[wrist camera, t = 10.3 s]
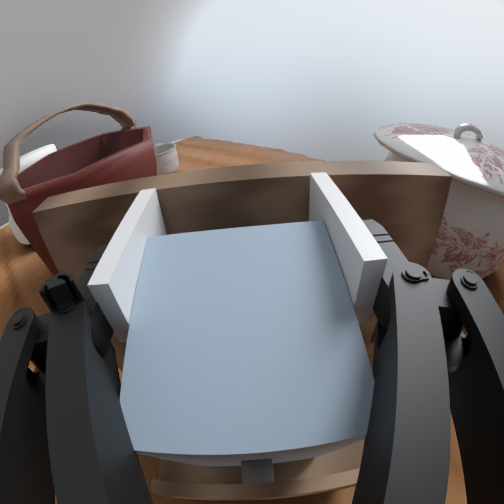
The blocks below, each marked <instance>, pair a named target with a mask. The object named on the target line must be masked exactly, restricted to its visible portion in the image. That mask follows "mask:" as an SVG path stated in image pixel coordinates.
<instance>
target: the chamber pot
mask: <svg viewBox="0 0 504 504" xmlns="http://www.w3.org/2000/svg"><path fill="white" fill-rule="evenodd" d="M465 131H470V132H473V133H474V134H475V135H476V137H474V136H471V135H469V134H466V133H463V132H465ZM374 136H375V138H376V139H377V141H378V142H379V143H380V145H382V146H383V147H385V148H386V149H388V150H390V154H389V155H388V156H387V158H386V159H385V160H384V161H397V162H419V163H434V164H436V165H437V166H438V167H440V168H441V169H443V170H444V171H445V172H447V173H448V174H450V175H451V176H452V180H451V185H450V189H449V193H448V198H447V202H446V206H445V210H444V214H443V217H442V221H441V225H440V228H439V232H438V235H437V238H436V242H435V245H434V248H433V251H432V254H431V257H430V260H429V263H428V266H427V269H426V270H427V271H428V272H429V273H430V275H432V276H434V277H437V278H440V279H446V280H450V279H451V277H452V274H453V272H454V271H455V270H457V269H461V268H462V269H468V270H471V271H473V272H475V273H476V274H477V275H479V276H480V277H481V279H483V278H485V277H486V276H488V275H490V274H492V273H493V272H495V271H497V270H498V269H500V268H502V267H503V266H504V150H503V149H501V148H499V147H497V146H495V145H493V144H491V143H489V142H487V141H484V140H482V138H483V136H482V134H481V131H480V130H479V129H478V128H477V127H476V126H474V125H472V124H467V123H466V124H461V125H460V126H458V127H457V128H456V129H455V130H452V129H447V128H442V127H438V126H431V125H424V124H395V125H387V126H382V127H379V128H378V129H377V130H376V131H375V133H374Z"/></svg>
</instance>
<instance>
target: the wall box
mask: <svg viewBox="0 0 504 504" xmlns="http://www.w3.org/2000/svg"><path fill="white" fill-rule="evenodd" d="M374 383H375V380H374V377H373V373H372V369H371V365H370V361H369V358H368V354H367V351H366V347H365V344H364V340H363V337H362V333H361V330H360V327H359V323H358V320H357V317H356V313H355V310H354V307H353V304H352V301H351V298H350V295H349V292H348V289H347V286H346V283H345V280H344V277H343V274H342V271H341V268H340V265H339V262H338V259H337V257H336V254H335V251H334V248H333V246H332V243H331V240H330V237H329V235H328V232H327V229H326V227H325V224H324V222H323V220H321V221H308V222H295V223H283V224H271V225H260V226H249V227H238V228H228V229H218V230H208V231H198V232H188V233H179V234H170V235H161V236H152V237H148V239H147V243H146V247H145V251H144V255H143V260H142V264H141V268H140V273H139V278H138V282H137V287H136V292H135V297H134V302H133V308H132V313H131V319H130V325H129V331H128V337H127V343H126V350H125V357H124V365H123V373H122V382H121V391H120V404H121V408H122V412H123V415H124V419H125V422H126V426H127V429H128V432H129V436H130V439H131V442H132V445H133V448H134V450H135V451H136V453H138V454H142V455H146V456H150V457H155V458H159V459H164V460H169V461H175V462H180V463H186V464H193V465H200V466H207V467H227V466H241V471H242V483H243V484H257V483H268V482H274V472H273V464H274V463H283V462H291V461H298V460H304V459H311V458H316V457H319V456H322V455H325V454H327V453H330V452H333V451H336V450H338V449H341V448H343V447H346V446H349V445H351V444H353V443H356V442H358V441H361V440H363V439H365V435H366V434H367V429H368V424H369V418H370V411H371V405H372V398H373V391H374Z"/></svg>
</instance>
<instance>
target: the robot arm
mask: <svg viewBox="0 0 504 504" xmlns="http://www.w3.org/2000/svg"><path fill="white" fill-rule="evenodd" d="M321 220H323V222H324V224H325V227H326V229H327V232H328V235H329V237H330V240H331V243H332V246H333V248H334V251H335V254H336V257H337V259H338V262H339V265H340V268H341V271H342V274H343V277H344V280H345V283H346V286H347V289H348V292H349V295H350V298H351V301H352V304H353V307H354V310H355V313H356V317H357V320H358V323H365V322H369V321H370V318H371V315H372V312H373V311H374V313H375V315H376V317H377V323H376V326H375V329H374V331H373V334H372V337H371V340H370V343H373V341H374V358H373V377H374V380H375V383H374V391H373V398H372V405H371V411H370V418H369V424H368V429H367V434H366V435H365V442H364V448H363V454H362V459H361V465H360V470H359V475H358V480H357V484H356V489H355V493H354V497H353V501H352V504H445V500H446V492H447V484H448V473H449V459H450V410H451V414H452V418H453V422H454V426H455V430H456V435H457V439H458V444H459V449H460V455H461V460H462V466H463V472H464V479H465V487H466V495H467V504H504V315H503V313H502V311H501V309H500V308H499V306H498V304H497V302H496V301H495V299H494V297H493V296H492V294H491V292H490V291H489V289H488V287H487V286H486V284H485V283H484V281H483V280H482V279H481V277H480V276H479V275H477V274H476V273H475V272H473V271H471V270H468V269H462V268H461V269H457V270H455V271H454V272H453V274H452V277H451V279H450V280H446V279H437V278H432V277H431V275H430V273H429V272H428V271H427V270H426V269H425V268H424V267H422V266H421V265H419V264H416V263H412V262H408V260H407V259H406V257H405V256H404V254H403V253H402V252H401V250H400V249H399V248H398V246H397V245H396V243H395V242H393V239H392V238H391V237H390V235H388V233H387V231H386V230H385V229H384V227H383V226H382V225H380V224H379V223H377V222H376V221H374V220H373V219H370V220H361V218H360V217H359V216H358V214H357V213H356V211H355V210H354V209H353V207H352V206H351V205H350V203H349V202H348V200H347V199H346V198H345V196H344V195H343V194H342V192H341V191H340V190H339V189H338V187H337V186H336V185H335V183H334V182H333V181H332V179H331V178H330V177H329V176H328V174H327V173H326V172H320V173H310V200H309V221H321ZM161 235H167V233H166V229H165V225H164V221H163V217H162V213H161V209H160V205H159V201H158V196H157V192H156V188H152V189H146V190H141V191H140V192H139V194H138V195H137V197H136V198H135V200H134V202H133V203H132V205H131V207H130V208H129V210H128V211H127V213H126V215H125V216H124V218H123V220H122V221H121V223H120V225H119V227H118V228H117V230H116V232H115V234H114V235H113V237H112V239H111V241H110V242H109V244H108V245H102V246H101V247H100V248H99V249H98V250H97V251H96V252H95V253H93V255H92V257H91V259H90V260H89V264H87V266H86V268H85V271H83V273H82V275H81V277H80V279H79V281H78V283H76V281H75V279H74V277H73V275H71V274H70V273H67V272H63V273H58V274H56V275H54V276H52V277H51V278H49V279H48V280H47V281H46V282H45V283H44V284H43V285H42V287H41V289H40V291H39V293H40V294H41V296H42V298H43V299H44V301H45V302H46V304H47V306H48V307H49V309H50V310H51V313H47V314H44V315H41V316H38V317H37V316H36V314H35V313H34V311H33V310H32V309H31V308H22V309H20V310H18V311H16V312H15V313H14V314H13V315H12V316H11V318H10V320H9V321H8V323H7V325H6V328H5V330H4V333H3V335H2V338H1V340H0V504H55V493H56V498H57V503H58V504H153V502H152V499H151V496H150V494H149V491H148V488H147V485H146V482H145V479H144V476H143V473H142V470H141V466H140V463H139V460H138V456H137V453H136V451H135V450H134V448H133V445H132V442H131V439H130V436H129V432H128V429H127V426H126V422H125V419H124V415H123V412H122V408H121V404H120V391H121V383H120V377H119V371H118V365H117V358H116V351H115V348H114V346H113V344H112V343H111V339H112V335H113V332H114V334H115V335H116V337H117V339H118V340H119V342H127V337H128V331H129V325H130V319H131V313H132V308H133V302H134V297H135V292H136V287H137V282H138V278H139V273H140V268H141V264H142V260H143V255H144V251H145V247H146V243H147V239H148V237H152V236H161ZM464 328H466V330H467V332H468V335H467V337H466V336H465V334H464V332H463V329H464ZM30 360H31V362H32V363H33V364H34V365H35V366H36V369H35V371H34V372H32V371H31V370H30V369H29V368H28V366H29V362H30Z"/></svg>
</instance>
